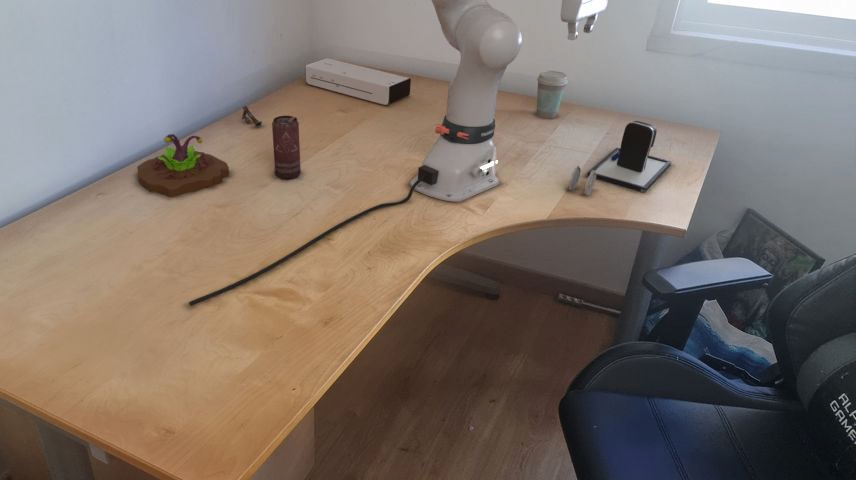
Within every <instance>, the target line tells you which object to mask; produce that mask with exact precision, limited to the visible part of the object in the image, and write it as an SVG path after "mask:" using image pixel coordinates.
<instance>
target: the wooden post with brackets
mask: <svg viewBox="0 0 856 480" xmlns="http://www.w3.org/2000/svg"><path fill="white" fill-rule="evenodd" d="M242 110H243V112H242V115H241V118H242V120H244V122H246V123H247V124H251V121H252V122H253V124H254V128H255V129H257V128H260V127H262V123H263V121H262V120H258V119H257V118H256V117H255V115H254V114H253V113H252V112H251V111H250V110H249V108H248V106H247V105H242Z"/></svg>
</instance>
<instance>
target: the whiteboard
mask: <svg viewBox="0 0 856 480" xmlns="http://www.w3.org/2000/svg"><path fill="white" fill-rule="evenodd" d="M620 148H621V147H615V148H614V149H613V150H612V151H611V152H610V153H608V154H607V155H606V156H605V157H604V158H603V159H602V160H600V161H599V162H598V163H597V164H596V165H594V167H592V168H591V169H590V170H589V171H587V173H586V178H588V177H589V175H590V173H591V171H592V170H594V172H596V180H595V181H601V182H604V183H608V184H611V185H613V186H614V185H615V186H618V187H620V188H621V187H622V188H625V189H629V190H632V191H636V192H639V193H643V194H645V193H646V192H647V191H648V190H649V189H650V188H651V187H652V186H653V185H654V184H655V183H656V182H657V180H659V178H660V177H661V176H662V175H663V174H664V173H665V172H666V171H667V170H668V169H669V168H670V167H671V164H672V160H668V159H665V158H661V157H657V156H653V155H650V154H649V155H648V158H647V162H646V167H645V170H644V171H643V172H637V171H634V170H630V169H627V168H624V167H621V166H619V165H617V161H618V157H619V153H620Z"/></svg>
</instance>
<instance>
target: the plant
mask: <svg viewBox="0 0 856 480" xmlns="http://www.w3.org/2000/svg"><path fill="white" fill-rule="evenodd" d="M192 139H196V142H197V143H198V144H202V143H203V139H202V137H201V136H197V135H192V136H189V137H188V138H187V139H186V140H185V141H184V143H183V144H182V145H181V143H180V139H179V138H178V137H177V136H176V135H175V133H174V134H173V133H170V134H168V135H166V136H165V137H164V138H163V141H164V142H165V143H166V144H169V143H173V144H174V146H175V148H171V147H165V152H164V151H163V152H162V154H161V155H159V156H156V157H154V158H150V159H147V160H145V161H143V162H142V163H141V164H138V165H137V166H136V168H137V176H138V177H137V178H138V182H139V184H140V185H141V187H143V188H145V190H147V191H149V192H152V193H160V194H163V195H164V196H167V197H168V198H173V197H180V196H182V195H185V194H189V193H194V192H197V191H200V190H203V189H205V188H214V186H215V185H218V184H219V185H220V184H222V182H223V178H226V177H229V174H230V171H229V165H228V163H227V162H226V161H224V160H222V159H220V158H218V157H216V156H214V155H212V154H210V153H205V152H204V151H197V150H196V148H195V146H194V145H190V146H189V144H190V142H191V140H192Z"/></svg>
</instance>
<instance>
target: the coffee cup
mask: <svg viewBox="0 0 856 480" xmlns="http://www.w3.org/2000/svg"><path fill="white" fill-rule="evenodd" d="M536 80H537V93H536V113H535V114H536V116H537V117H539V118H543V119H554V118H556V117H557V115H558V112H559V109H560V105H561V103H562V99H563V96H564V92H565V89H566V86H567V85H568V84H569V83H568V81H569V80H568V75H567V74H566V73H564V72H562V71H557V70H543V71H541V72H540V73H539V75H538V77H537V79H536Z"/></svg>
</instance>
